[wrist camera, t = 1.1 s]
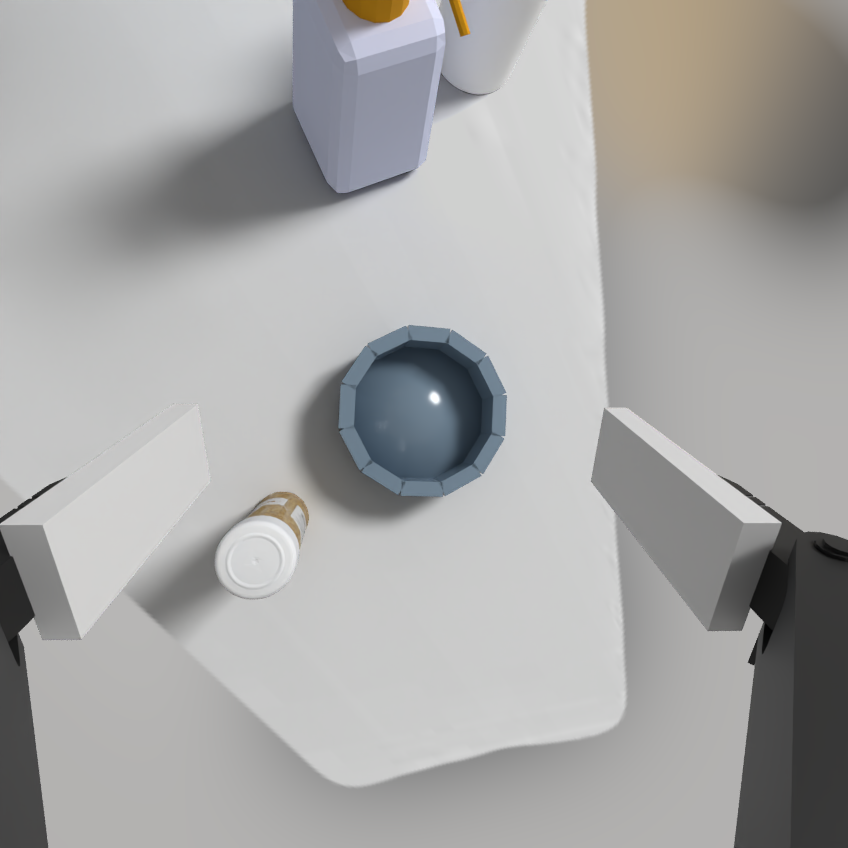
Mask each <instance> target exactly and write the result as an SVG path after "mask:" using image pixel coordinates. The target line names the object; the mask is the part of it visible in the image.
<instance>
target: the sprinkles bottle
mask: <svg viewBox="0 0 848 848" xmlns="http://www.w3.org/2000/svg"><path fill="white" fill-rule="evenodd" d="M308 520H309V515H308V510H307V507H306V505H305V504H304V502H303V501H302V500H301V499H300V498H299V497H298V496H297V495H295V494H292V493H288V492H276V493H273V494H271V495H269V496H267V497H266V498H264V499H263V500H262V501H261V502H260V504H259V505H258V506H257V507H256V508H255V509H254V510H253V511H252V512H251V513H250V514H249V515H248V516H247V517H246V518H245V519H244V520H242V521H240V522H239V523H237V524H236V525H235V526H234V527H232V528H231V529H230V530H229V531H228V532H227V533H226V535H225V536H224V537H223V538H222V540H221V541H220V543H219V545H218V547H217V550H216V553H215V560H214V565H215V571H216V574H217V577H218V579H219V581H220V583H221V584H222V585H223V587H224V588H225V589H227V590H228V591H229V592H230V593H232V594H233V595H236V596H238V597H240V598H244V599H262V598H265V597H269V596H271V595H273V594H275V593H277V592H278V591H280V590H281V589H282V588H283V587H284V586H285V585H286V584H287V583H288V582H289V580H290V579H291V577H292V575H293V573H294V571H295V569H296V566H297V563H298V559H299V549H300V546H301V543H302V539H303V536H304V533H305V530H306V527H307V525H308Z"/></svg>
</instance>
